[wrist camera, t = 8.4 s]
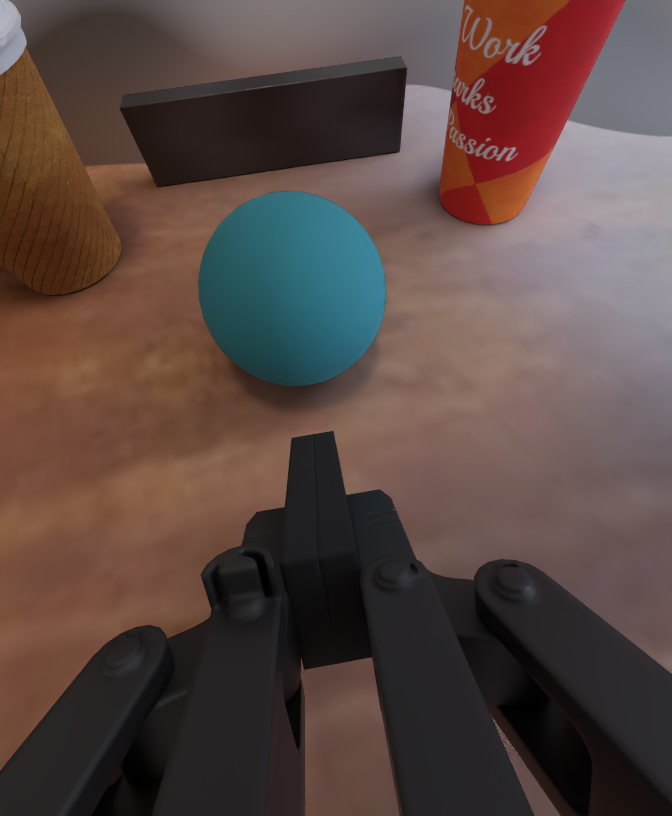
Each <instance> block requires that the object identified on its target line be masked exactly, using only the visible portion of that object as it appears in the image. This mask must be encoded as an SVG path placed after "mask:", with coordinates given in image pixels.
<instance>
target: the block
mask: <svg viewBox="0 0 672 816" xmlns="http://www.w3.org/2000/svg"><path fill="white" fill-rule="evenodd" d="M406 76H407V66H406V64H405V62H404V60H403V58H402V57H401V56H399V57H392V58H384V59H378V60H370V61H363V62H356V63H349V64H341V65H334V66H327V67H320V68H313V69H306V70H299V71H292V72H284V73H277V74H271V75H263V76H256V77H249V78H242V79H234V80H227V81H220V82H213V83H206V84H199V85H191V86H184V87H177V88H170V89H163V90H156V91H148V92H142V93H134V94H128V95H122V98H121V103H120V110H121V112H122V114H123V116H124V118H125V120H126V123H127V125H128V127H129V129H130V131H131V133H132V135H133V137H134V139H135V141H136V143H137V146H138V148H139V150H140V152H141V154H142V156H143V158H144V160H145V162H146V164H147V166H148V168H149V171H150V173H151V175H152V177H153V179H154V181H155V183H156V185H157V187H159V186H166V185H173V184H179V183H186V182H193V181H200V180H207V179H214V178H220V177H227V176H234V175H241V174H248V173H255V172H261V171H268V170H275V169H282V168H289V167H296V166H302V165H309V164H316V163H323V162H330V161H337V160H343V159H350V158H357V157H364V156H371V155H378V154H384V153H391V152H398V151H400V143H401V132H402V121H403V109H404V98H405V87H406Z"/></svg>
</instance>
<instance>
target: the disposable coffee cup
mask: <svg viewBox="0 0 672 816" xmlns="http://www.w3.org/2000/svg"><path fill="white" fill-rule="evenodd" d="M20 25H21V16H20V14H19V12H18V10H17V9H16V7H15V5H14V4H12V3H11V2H10V1H8V0H0V266H2V267H3V268H4V269H6V270H7V271H8V272H10V273H11V274H12V275H14V276H15V277H16V278H17V279H19V280H20V281H21V282H23V283H24V284H25V285H27V286H28V287H29V288H30V289H32V290H33V291H35V292H38V293H42V294H48V295H57V294H66V293H71V292H75V291H78V290H81V289H83V288H85V287H88V286H90V285H92V284H93V283H95V282H97V281H99V280H100V279H101V278H102V277H104V276H105V275H106V274H107V273H108V272H109V271H110V270H111V269H112V268H113V267H114V266H115V264H116V263H117V261H118V259H119V257H120V253H121V247H122V245H121V241H120V239H119V237H118V235H117V233H116V231H115V229H114V227H113V225H112V223H111V221H110V219H109V217H108V215H107V213H106V210H105V208H104V207H103V204H102V202H101V200H100V198H99V196H98V194H97V192H96V190H95V188H94V186H93V184H92V181H91V179H90V177H89V175H88V174H87V171H86V169H85V167H84V165H83V163H82V161H81V159H80V157H79V155H78V153H77V151H76V149H75V147H74V145H73V142H72V140H71V139H70V137H69V135H68V132H67V130H66V128H65V126H64V125H63V123H62V121H61V119H60V116H59V114H58V112H57V110H56V108H55V106H54V104H53V101H52V99H51V97H50V95H49V94H48V92H47V89H46V87H45V85H44V83H43V81H42V79H41V77H40V75H39V73H38V71H37V68H36V66H35V64H34V63H33V61H32V59H31V57H30V55H29V53H28V51H27V49H26V47H25V46H26V39H25V35H24V33H23V31H22V29H21V27H20Z"/></svg>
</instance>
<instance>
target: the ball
mask: <svg viewBox="0 0 672 816" xmlns="http://www.w3.org/2000/svg"><path fill="white" fill-rule="evenodd" d="M198 284H199V301H200V305H201V309H202V313H203V317H204V320H205V322H206V325H207V327H208V329H209V331H210V333H211V336H212V337H213V339H214V340H215V342H216V343H217V345H218V346H219V347H220V349H221V350H222V351H223V352H224V353H225V355H226V356H227V357H228V358H229V359H230V360H231V361H232V362H233V363H235V364H236V365H237V366H238V367H240V368H241V369H243V370H244V371H246V372H247V373H249V374H251V375H253V376H255V377H256V378H259V379H262V380H264V381H267V382H270V383H274V384H278V385H285V386H305V385H312V384H316V383H320V382H323V381H326V380H329V379H331V378H333V377H336V376H338V375H339V374H341V373H343V372H344V371H346V370H347V369H348V368H350V367H351V366H352V365H353V364H354V363H356V362H357V361H358V360H359V359H360V358H361V357H362V356H363V355H364V353H365V352H366V350H367V349H368V348H369V346H370V345H371V343H372V342H373V340H374V338H375V336H376V334H377V332H378V330H379V327H380V325H381V321H382V318H383V314H384V309H385V302H386V280H385V275H384V270H383V265H382V261H381V259H380V256H379V254H378V251H377V249H376V246H375V244H374V243H373V241H372V239H371V238H370V236H369V235H368V233H367V231H366V230H365V229H364V228H363V227H362V225H361V224H360V223H359V222H358V221H357V220H356V219H355V218H354V217H353V216H352V215H351V214H350V213H348V212H347V211H346V210H344V209H343V208H342V207H340V206H339V205H337V204H336V203H334V202H332V201H329V200H327V199H325V198H323V197H320V196H317V195H314V194H310V193H305V192H295V191H281V192H274V193H269V194H265V195H262V196H259V197H256V198H254V199H252V200H250V201H248V202H246V203H244V204H242V205H241V206H239V207H238V208H236V209H235V210H234V211H233V212H231V213H230V214H229V215H228V216H227V217H226V218H225V219H224V220H223V221H222V222H221V224H220V225H219V226H218V227H217V229H216V230H215V232H214V233H213V235H212V237H211V238H210V240H209V242H208V244H207V246H206V249H205V252H204V255H203V258H202V261H201V265H200V272H199V281H198Z"/></svg>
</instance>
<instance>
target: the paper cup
mask: <svg viewBox="0 0 672 816" xmlns="http://www.w3.org/2000/svg"><path fill="white" fill-rule="evenodd" d="M624 2H625V0H464V6H463V13H462V21H461V28H460V36H459V44H458V50H457V58H456V65H455V72H454V80H453V88H452V95H451V102H450V110H449V117H448V125H447V133H446V140H445V148H444V156H443V164H442V173H441V181H440V201H441V204H442V206H443V207H444V208H445V209H446V211H448V212H449V213H450V214H451V215H453V216H454V217H456V218H458V219H460V220H463V221H466V222H470V223H474V224H497V223H502V222H505V221H508V220H510V219H512V218H514V217H515V216H517V215H518V214H519V213H520V212H521V210H522V209H523V207H524V205H525V204H526V202H527V200H528V198H529V196H530V194H531V192H532V190H533V188H534V186H535V184H536V183H537V181H538V179H539V177H540V175H541V173H542V171H543V168H544V166H545V164H546V162H547V160H548V158H549V156H550V154H551V152H552V150H553V148H554V146H555V144H556V142H557V140H558V138H559V136H560V134H561V132H562V130H563V128H564V126H565V124H566V122H567V120H568V117H569V116H570V113H571V111H572V109H573V107H574V105H575V103H576V101H577V99H578V97H579V95H580V93H581V91H582V89H583V87H584V85H585V83H586V80H587V78H588V77H589V74H590V72H591V70H592V68H593V66H594V64H595V62H596V60H597V58H598V56H599V54H600V52H601V50H602V48H603V46H604V43H605V41H606V39H607V37H608V35H609V33H610V31H611V29H612V27H613V25H614V23H615V21H616V19H617V16H618V15H619V13H620V11H621V9H622V6H623V4H624Z"/></svg>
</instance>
